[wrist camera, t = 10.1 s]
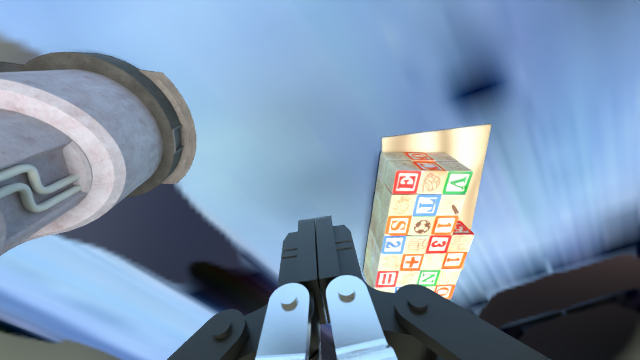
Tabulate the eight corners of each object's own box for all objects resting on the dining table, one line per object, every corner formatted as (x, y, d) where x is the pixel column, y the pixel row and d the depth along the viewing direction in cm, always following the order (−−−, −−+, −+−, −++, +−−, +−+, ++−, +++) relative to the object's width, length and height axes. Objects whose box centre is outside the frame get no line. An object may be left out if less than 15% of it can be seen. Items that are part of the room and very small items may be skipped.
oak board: (489, 123, 33) (491, 124, 33) (461, 268, 45) (462, 270, 44) (381, 137, 33) (382, 138, 33) (381, 279, 44) (381, 281, 44)
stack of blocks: (395, 169, 28) (499, 169, 29) (379, 151, 33) (466, 151, 34) (372, 303, 37) (452, 299, 38) (362, 271, 43) (432, 268, 44)
